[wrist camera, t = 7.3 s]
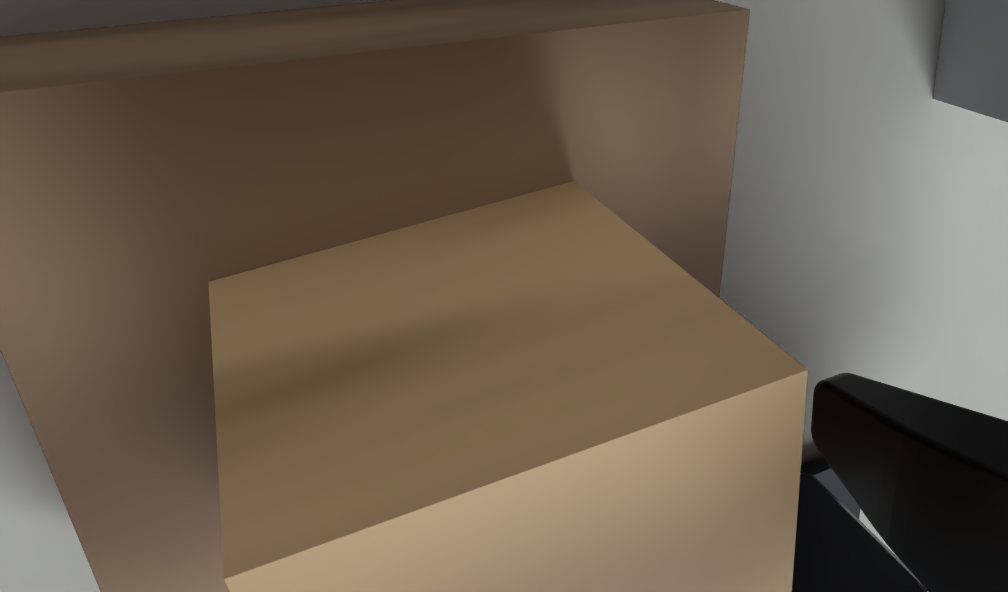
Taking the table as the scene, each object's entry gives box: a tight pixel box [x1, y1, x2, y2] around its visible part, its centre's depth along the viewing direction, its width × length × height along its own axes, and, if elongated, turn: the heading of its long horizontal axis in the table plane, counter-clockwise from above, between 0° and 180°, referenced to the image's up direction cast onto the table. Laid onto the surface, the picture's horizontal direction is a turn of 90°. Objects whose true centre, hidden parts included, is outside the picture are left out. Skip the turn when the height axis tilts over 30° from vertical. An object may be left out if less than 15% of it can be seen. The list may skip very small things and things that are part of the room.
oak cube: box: [208, 181, 808, 592], centre depth 10 cm, size 5×5×5 cm
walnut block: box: [0, 0, 750, 592], centre depth 13 cm, size 10×10×4 cm
